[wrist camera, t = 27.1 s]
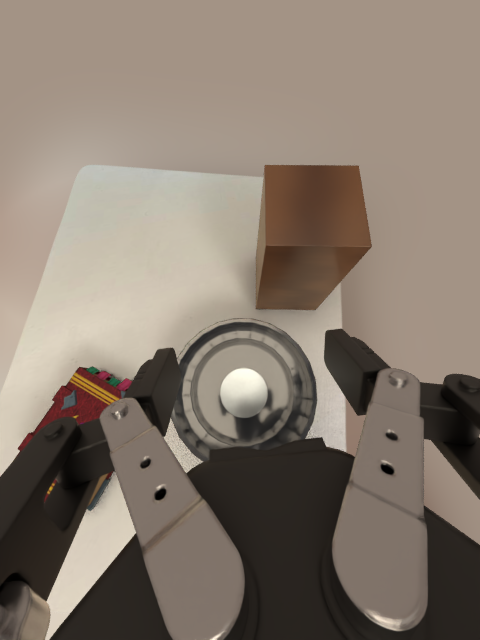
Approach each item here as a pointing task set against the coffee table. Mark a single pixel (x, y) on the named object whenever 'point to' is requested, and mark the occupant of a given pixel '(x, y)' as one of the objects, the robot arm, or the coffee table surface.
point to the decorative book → (83, 408)
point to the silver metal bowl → (230, 354)
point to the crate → (308, 233)
